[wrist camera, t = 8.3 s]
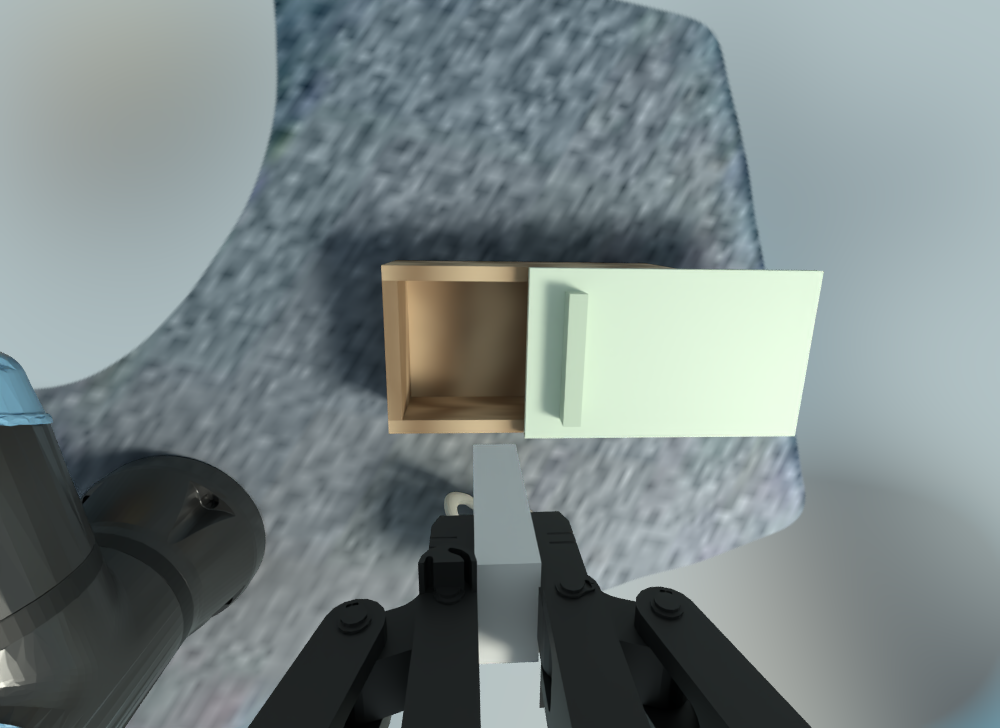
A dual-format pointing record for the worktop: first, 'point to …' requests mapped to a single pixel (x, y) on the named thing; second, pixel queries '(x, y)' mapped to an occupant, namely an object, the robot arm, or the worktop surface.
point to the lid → (667, 351)
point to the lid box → (459, 343)
